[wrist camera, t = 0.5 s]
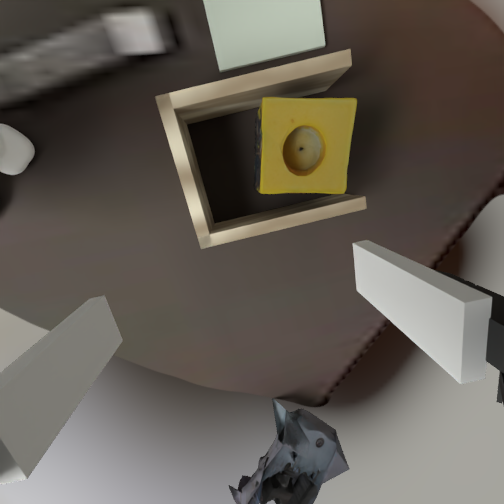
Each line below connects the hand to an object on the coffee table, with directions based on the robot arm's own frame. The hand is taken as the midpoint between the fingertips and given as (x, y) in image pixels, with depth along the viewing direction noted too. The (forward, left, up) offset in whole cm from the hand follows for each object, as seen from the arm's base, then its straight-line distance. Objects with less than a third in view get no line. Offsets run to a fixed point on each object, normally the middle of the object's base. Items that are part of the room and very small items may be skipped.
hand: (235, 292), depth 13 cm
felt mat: (-26, +10, -26) cm, 38 cm away
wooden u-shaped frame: (-7, +6, -26) cm, 28 cm away
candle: (-7, +10, -27) cm, 29 cm away
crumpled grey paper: (+47, -2, -27) cm, 54 cm away
